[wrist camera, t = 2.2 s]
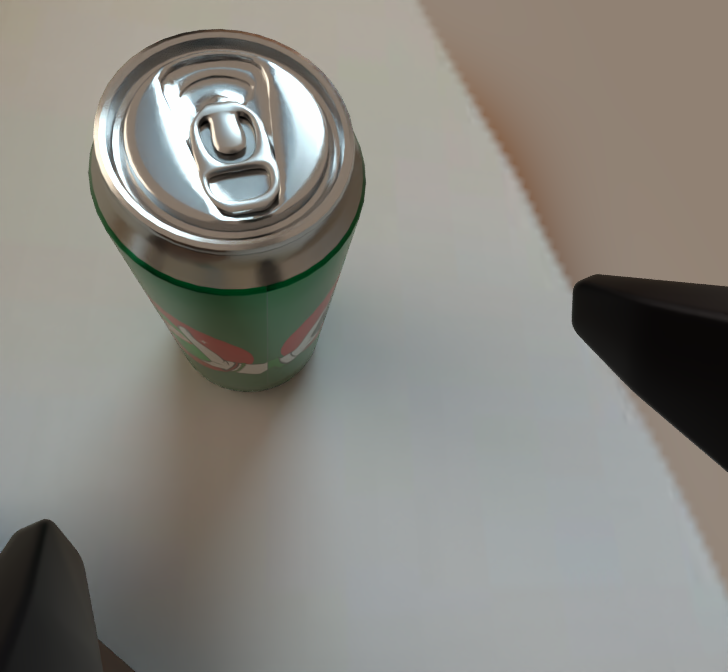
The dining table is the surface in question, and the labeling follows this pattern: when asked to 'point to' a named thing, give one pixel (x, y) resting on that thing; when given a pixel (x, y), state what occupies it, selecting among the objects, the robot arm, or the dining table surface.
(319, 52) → the dining table surface
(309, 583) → the dining table surface
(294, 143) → the soda can
